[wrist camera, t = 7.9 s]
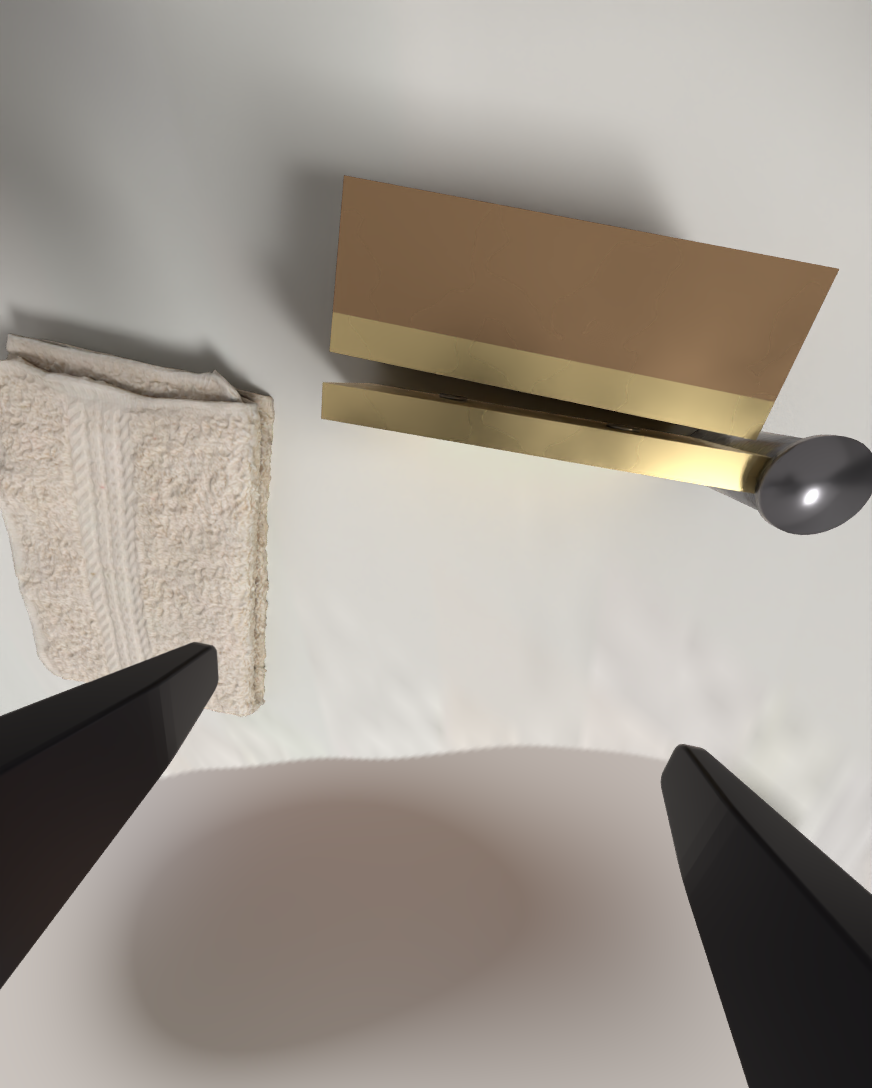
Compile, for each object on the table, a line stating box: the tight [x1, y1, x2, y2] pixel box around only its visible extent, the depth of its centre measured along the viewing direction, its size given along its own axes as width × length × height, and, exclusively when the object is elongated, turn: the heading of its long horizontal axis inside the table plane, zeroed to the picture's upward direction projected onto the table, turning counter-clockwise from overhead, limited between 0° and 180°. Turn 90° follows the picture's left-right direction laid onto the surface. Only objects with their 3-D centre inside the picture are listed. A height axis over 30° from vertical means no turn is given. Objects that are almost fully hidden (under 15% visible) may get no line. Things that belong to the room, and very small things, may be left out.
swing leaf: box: [321, 382, 872, 535], centre depth 13 cm, size 15×3×6 cm, turn 81°
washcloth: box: [0, 334, 275, 717], centre depth 20 cm, size 12×18×3 cm, turn 170°
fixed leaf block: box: [329, 175, 839, 440], centre depth 13 cm, size 12×4×5 cm, turn 79°
